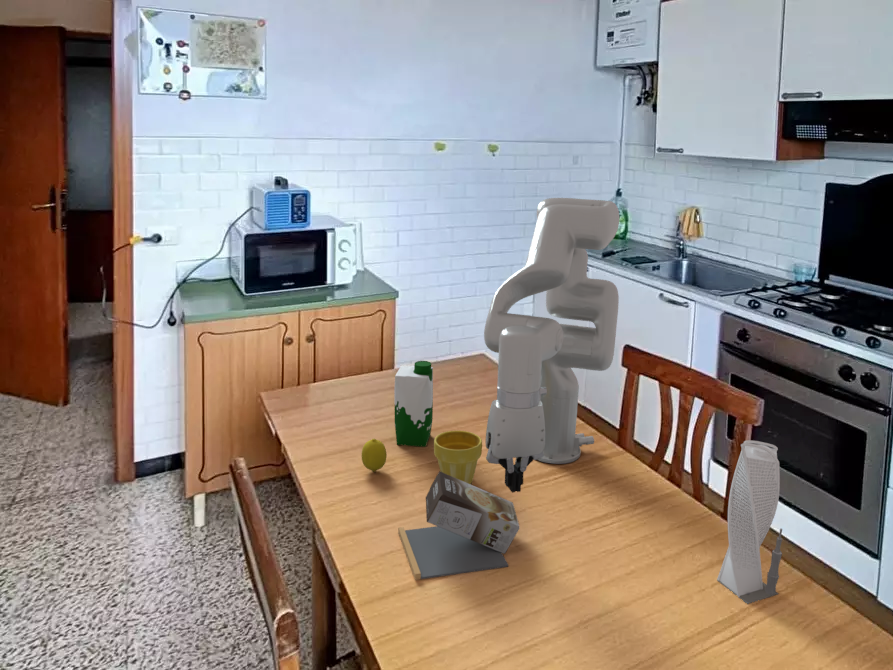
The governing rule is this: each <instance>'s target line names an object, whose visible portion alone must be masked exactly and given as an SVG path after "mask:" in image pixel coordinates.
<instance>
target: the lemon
mask: <svg viewBox="0 0 893 670" xmlns="http://www.w3.org/2000/svg"><path fill="white" fill-rule="evenodd" d="M387 456H388V455H387V449H386V446H385V444H384V443H383V442H382V441H381V440H379V439H376V438H372V439H369V440H367V441H366V442H365V443H364V444H363V446H362V449H361V461H362V464H363V466H364V468H366V469H368V470H369V471H371V472H375V473H376V472H377V471H379V470H380V469H382V468H383V467H384V466H385V464H386V462H387Z"/></svg>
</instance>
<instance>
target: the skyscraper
mask: <svg viewBox="0 0 893 670" xmlns="http://www.w3.org/2000/svg"><path fill="white" fill-rule="evenodd" d="M740 447H741V449H740V450H741V451H740V454H739V456H738V460H737V463H736V466H735V470H734V471H733V472H734V473H733V477H732V481H731V485H730V490H729V496H728V503H727V505H728V506H727V537H728V547H727V550H726V553H725V556H724V559H723V561H722V564H721V567H720V570H719V573H718V575H717V578H716V581H717V582H719V584H721V585H722V586H724V588H726V589H727V590H728V589H729V590H728V591H730V592H731V591H732V592H733V593H732V592H731V593H732V594H734V595H735V596H736V595H737V596H738V599H740V600H741V599H742V600H743V601H742V600H741V601H742V602H744V603H745V604H746V603H747V604H746V605H750V604H753V603H756V602H758V600H759V601H762V600H765V599H768V598H771V597H774V596H776V595H777V596H778V595H779V592H777V588H776V587H777V585H778V581H779V577H780V575H779V567H780V564H781V563H780V562H781V559H782V556H783V553H782V551H781V547H782V546H781V545H782V542H783V538H782V533H783V528H779V533H778V536H777V537H776V545H775V549H772V551H771V559H770V567H769V570H768V572H767V575H766V576H767V577H766V579H767V580H766V583H765V582H764V581H763V572H762V562H761V561H762V560H761V550H760V549H761V546H762V543H763V542H764V540H765V538H766V536H767V534H768V533H769V530H770V529H771V526H772V524H773V521H774V519H775V516H776V512H777V509H778V505H779V498H780V485H781V484H780V482H781V478H780V477H781V476H780V475H781V474H780V473H781V471H780V461H779V459H778V453H777V452H778V450H779V449H778V447H777V446H776V445H775V444H772V443H768V442H763V441H759V440H750V439H748V440H744V441H743V443H740ZM737 596H736V597H737ZM755 601H756V602H755ZM752 602H753V603H752ZM749 603H750V604H749Z"/></svg>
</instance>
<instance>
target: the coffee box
mask: <svg viewBox="0 0 893 670" xmlns="http://www.w3.org/2000/svg"><path fill="white" fill-rule="evenodd" d="M425 510H426V511H425V513H426V517H425V518H426V523H429V524H432V525H434V526H438V527H441V528H443V529H446V530H448V531H450V532H453V533H455V534H458V535H460V536H462V537H465V538H467V539H470V540H472V541H475V542H477V543H479V544H482V545H484V546H487V547H489V548H491V549H494V550H496V551H499V552H501V553H502V554H503V555H504V554H506V553H507V551H508V549H509V547H510V545H511V544H512V542H513V540H514V539H515V537H516V536H517V533H518V532H519V530H520V524H519V519H518V516H517V513H516V510H515V505H514V503H513V502H512V501H510V500H508V499H505V498H503V497H501V496H498V495H496V494H494V493H491V492H489V491H487V490H485V489H482V488H480V487H477V486H475V485H473V484H472V483H471V484H468V483H466V482H464V481H461V480H459V479H457V478H454V477H452V476H450V475H447V474H445V473H443V472H440V470H439V471H438V473H437V474H436V476H435V478H434V480H433V481H432V484H431V485H430V487H429V490H428V492H427V494H426V496H425Z"/></svg>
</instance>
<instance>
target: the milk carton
mask: <svg viewBox="0 0 893 670" xmlns="http://www.w3.org/2000/svg"><path fill="white" fill-rule="evenodd" d="M433 399H434V367H433V366H432V362H430V361H428V360H418V361H415V362H414V364H411V365H405V364H404V365H403V364H402V365H400V367H399V369H398V370H397V372H396V374H395V376H394V430H395V437H396V439H395V440H396V445H397V446H408V447H422V448H426V447H427V445H428V442H429V439H430V437H431V432H432V425H433V410H434V409H433V408H434V407H433V405H434V404H433V402H434V400H433Z"/></svg>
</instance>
